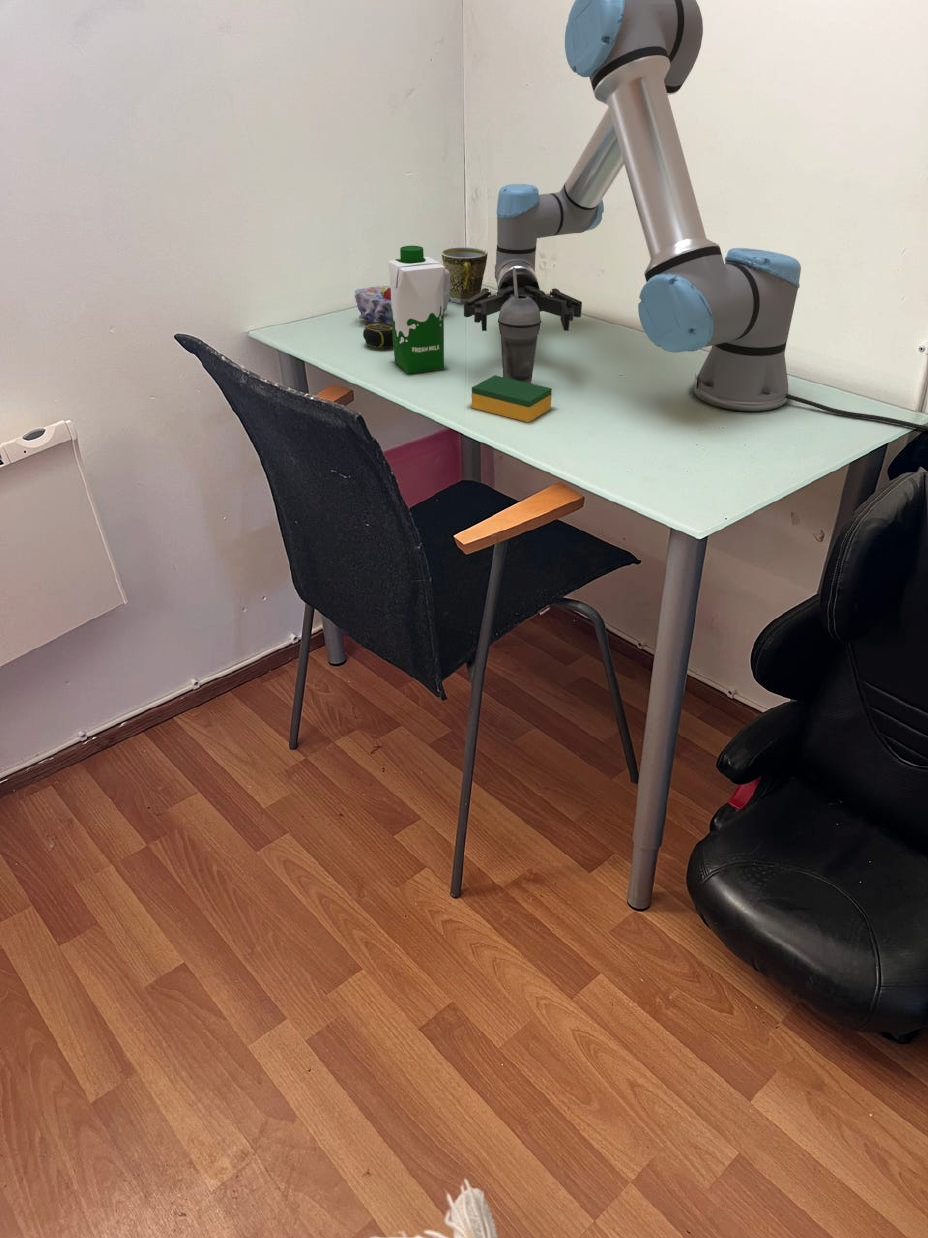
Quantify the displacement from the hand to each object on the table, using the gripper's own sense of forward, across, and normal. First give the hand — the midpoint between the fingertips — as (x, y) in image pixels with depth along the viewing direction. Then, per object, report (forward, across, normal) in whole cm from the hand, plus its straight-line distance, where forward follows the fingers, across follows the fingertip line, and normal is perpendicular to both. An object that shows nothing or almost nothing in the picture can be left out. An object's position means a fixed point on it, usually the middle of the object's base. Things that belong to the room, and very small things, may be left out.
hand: (525, 322), depth 151 cm
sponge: (+8, +2, -12) cm, 14 cm away
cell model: (-41, +22, -12) cm, 48 cm away
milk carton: (-12, +18, -12) cm, 25 cm away
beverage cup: (-1, +1, -12) cm, 12 cm away
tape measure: (-25, +26, -12) cm, 37 cm away
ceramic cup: (-55, +9, -12) cm, 57 cm away
